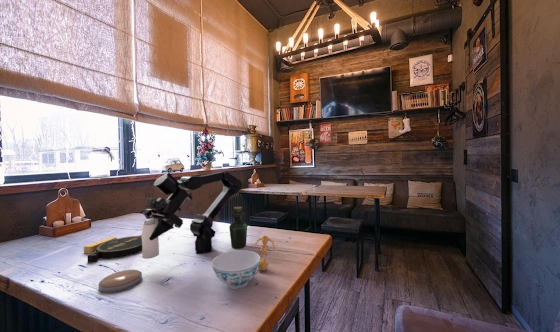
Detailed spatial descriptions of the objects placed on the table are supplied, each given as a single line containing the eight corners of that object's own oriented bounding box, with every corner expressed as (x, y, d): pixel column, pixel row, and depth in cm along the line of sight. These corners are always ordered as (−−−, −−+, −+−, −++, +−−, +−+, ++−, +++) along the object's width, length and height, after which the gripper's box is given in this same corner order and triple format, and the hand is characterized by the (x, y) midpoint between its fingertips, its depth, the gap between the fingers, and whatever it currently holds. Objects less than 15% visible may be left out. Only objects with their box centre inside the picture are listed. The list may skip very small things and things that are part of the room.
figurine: (249, 271, 81) (249, 237, 81) (257, 263, 87) (256, 232, 87) (271, 274, 78) (270, 239, 78) (277, 267, 84) (277, 234, 84)
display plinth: (146, 272, 82) (146, 267, 82) (134, 289, 71) (134, 283, 71) (109, 277, 79) (108, 271, 79) (90, 296, 68) (90, 289, 68)
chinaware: (220, 271, 81) (220, 250, 81) (263, 271, 81) (262, 250, 80) (205, 297, 66) (204, 270, 66) (257, 297, 66) (256, 270, 65)
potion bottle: (250, 247, 104) (250, 207, 104) (234, 251, 99) (233, 210, 99) (243, 242, 111) (242, 205, 110) (227, 246, 106) (226, 207, 106)
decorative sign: (123, 231, 122) (165, 234, 117) (124, 238, 122) (165, 240, 117) (62, 253, 93) (113, 257, 88) (62, 261, 94) (113, 265, 89)
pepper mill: (162, 253, 84) (161, 217, 84) (151, 259, 79) (149, 221, 79) (150, 252, 85) (149, 217, 85) (138, 257, 80) (137, 221, 80)
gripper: (146, 188, 90) (115, 222, 81) (173, 190, 80) (141, 230, 71) (166, 204, 97) (140, 238, 88) (194, 208, 87) (167, 247, 78)
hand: (146, 238), depth 81 cm, fingers closed on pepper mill, 5 cm apart
